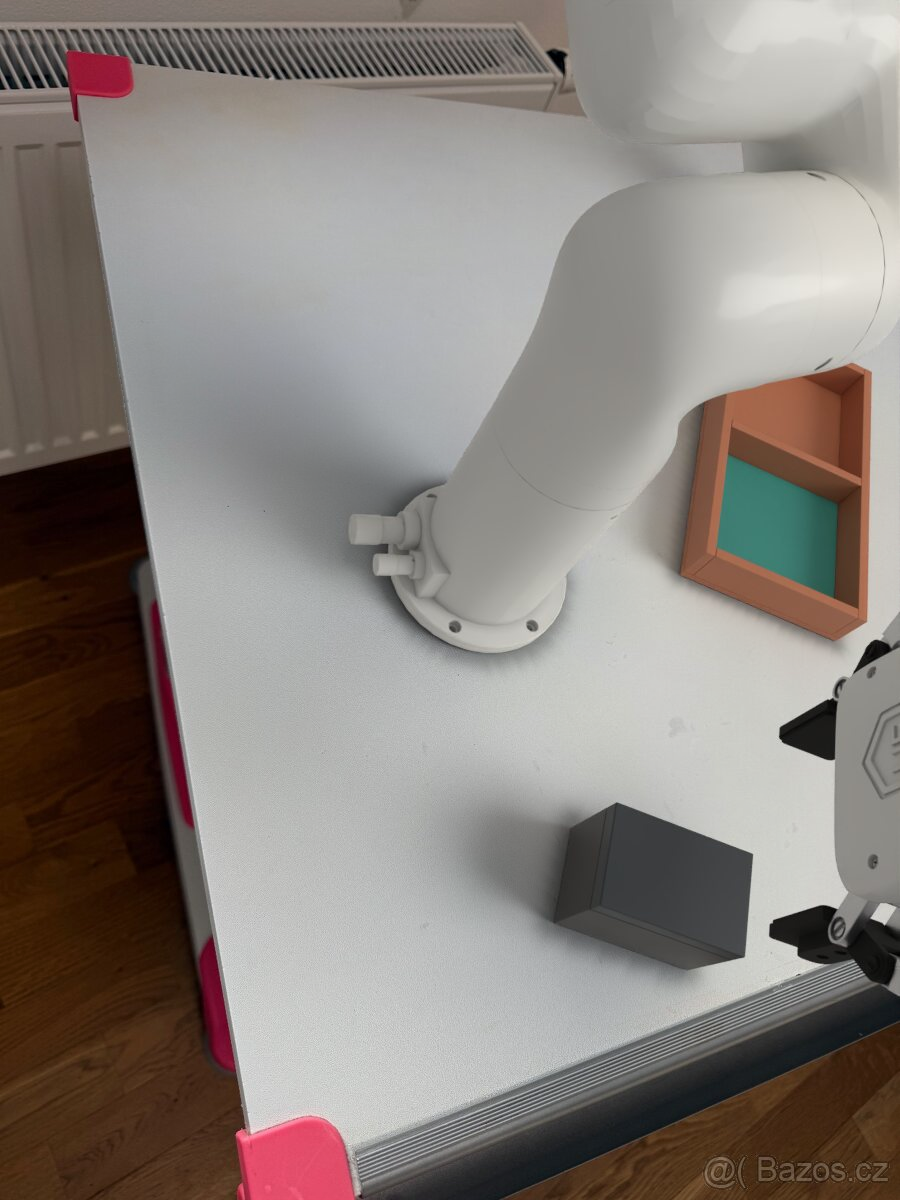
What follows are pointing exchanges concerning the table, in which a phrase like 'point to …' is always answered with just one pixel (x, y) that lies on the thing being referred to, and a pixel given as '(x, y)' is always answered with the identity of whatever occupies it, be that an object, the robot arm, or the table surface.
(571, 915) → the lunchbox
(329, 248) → the table surface
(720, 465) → the divided orange tray
